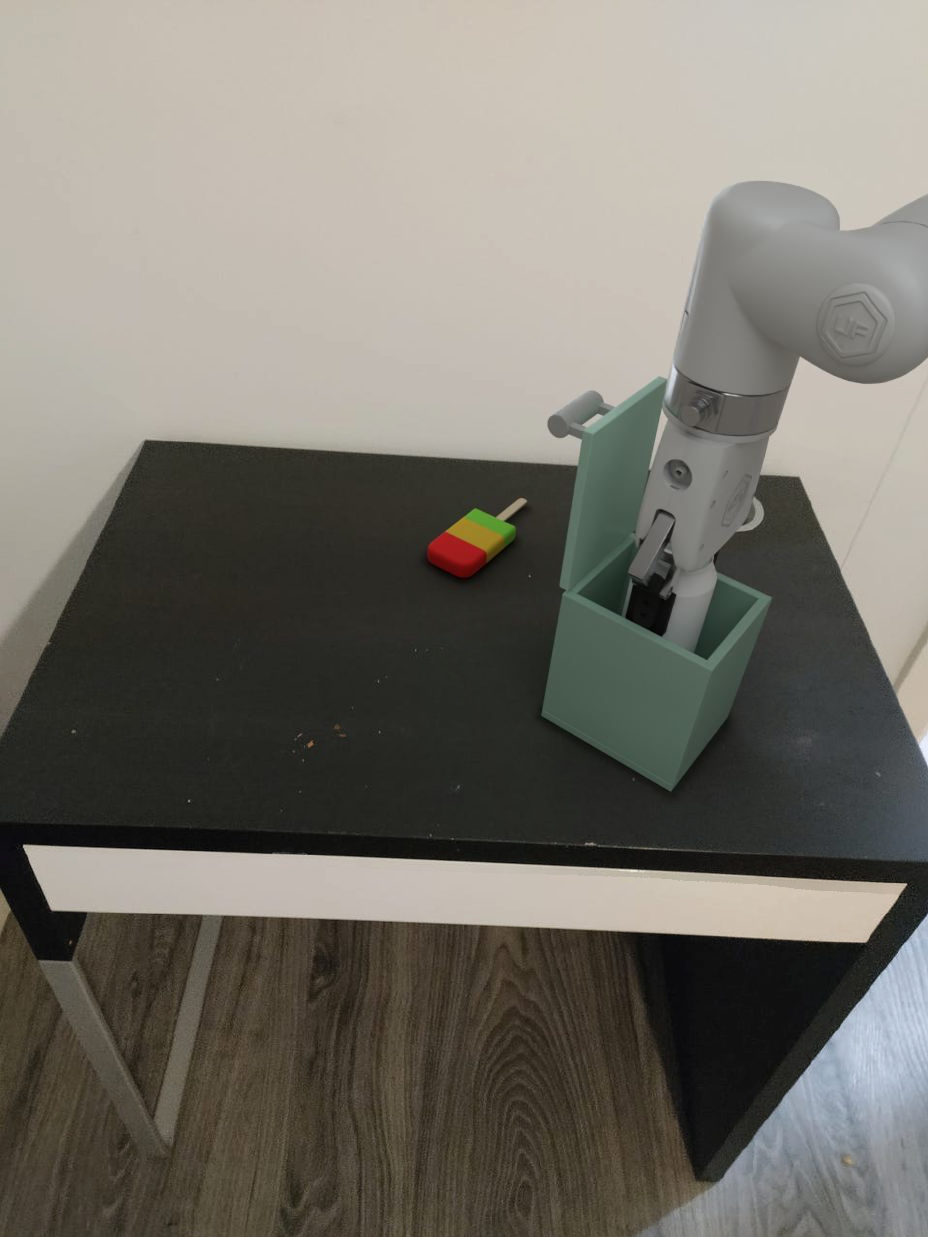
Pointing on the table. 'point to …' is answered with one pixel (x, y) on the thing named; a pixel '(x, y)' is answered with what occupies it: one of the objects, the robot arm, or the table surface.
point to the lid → (607, 472)
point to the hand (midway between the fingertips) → (667, 602)
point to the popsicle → (473, 541)
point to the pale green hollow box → (647, 671)
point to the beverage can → (686, 602)
